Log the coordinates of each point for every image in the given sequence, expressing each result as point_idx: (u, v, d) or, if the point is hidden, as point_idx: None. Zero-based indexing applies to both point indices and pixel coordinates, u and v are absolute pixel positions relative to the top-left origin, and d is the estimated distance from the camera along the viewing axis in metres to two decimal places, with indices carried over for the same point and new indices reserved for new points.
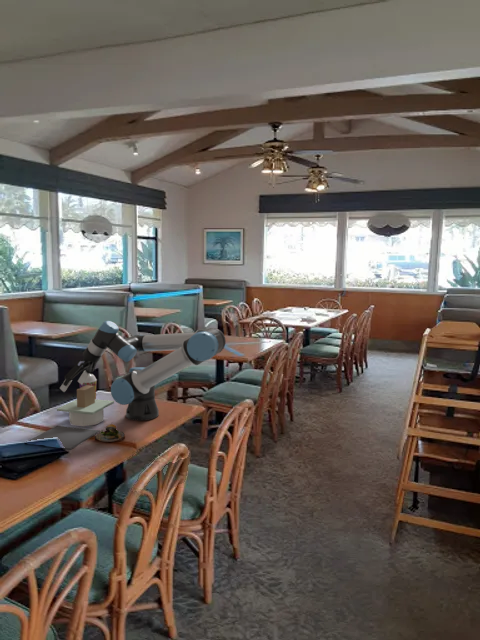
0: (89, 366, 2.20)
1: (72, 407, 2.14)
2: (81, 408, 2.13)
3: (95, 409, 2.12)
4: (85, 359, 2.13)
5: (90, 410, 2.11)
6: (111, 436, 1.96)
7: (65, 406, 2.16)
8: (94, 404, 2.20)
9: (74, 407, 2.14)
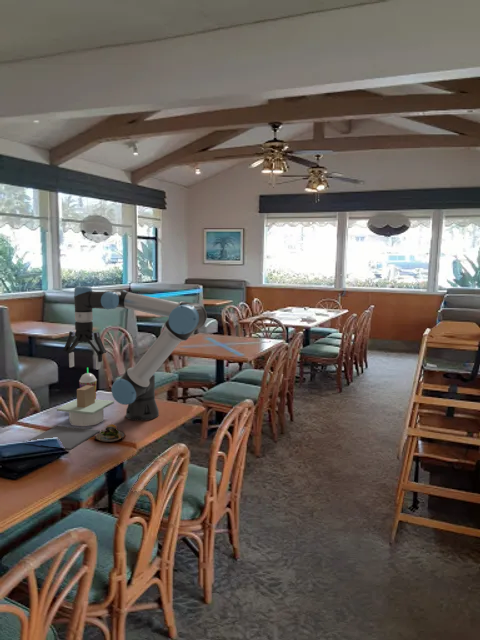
0: (80, 340, 2.17)
1: (72, 407, 2.14)
2: (81, 408, 2.13)
3: (95, 409, 2.12)
4: (91, 330, 2.14)
5: (90, 410, 2.11)
6: (111, 436, 1.96)
7: (65, 406, 2.16)
8: (94, 404, 2.20)
9: (74, 407, 2.14)
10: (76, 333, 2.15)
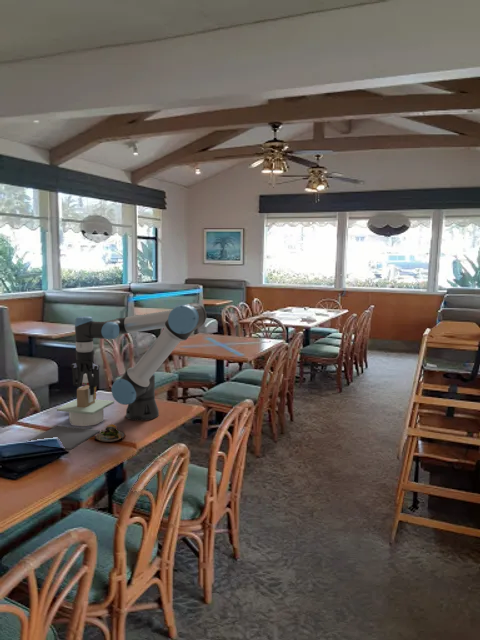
0: (84, 370, 2.18)
1: (72, 407, 2.14)
2: (81, 408, 2.13)
3: (95, 409, 2.12)
4: (92, 360, 2.16)
5: (90, 410, 2.11)
6: (111, 436, 1.96)
7: (65, 406, 2.16)
8: (94, 404, 2.20)
9: (74, 407, 2.14)
10: (77, 362, 2.17)
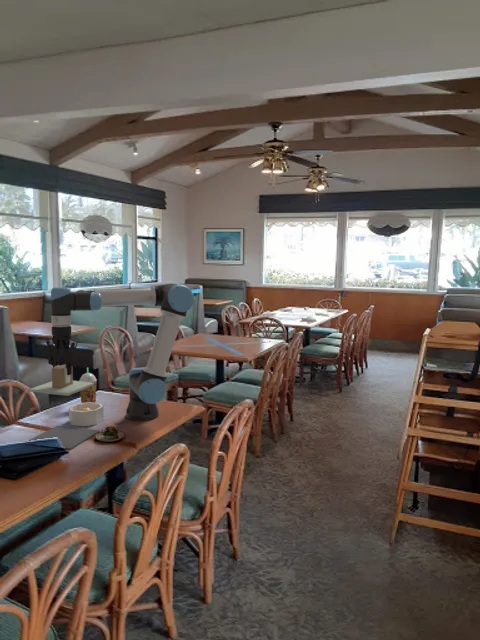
0: (60, 348, 1.97)
1: (46, 388, 1.93)
2: (56, 389, 1.92)
3: (71, 390, 1.91)
4: (69, 336, 1.94)
5: (65, 391, 1.89)
6: (111, 436, 1.96)
7: (39, 387, 1.95)
8: (71, 385, 1.98)
9: (48, 388, 1.93)
10: (53, 339, 1.95)
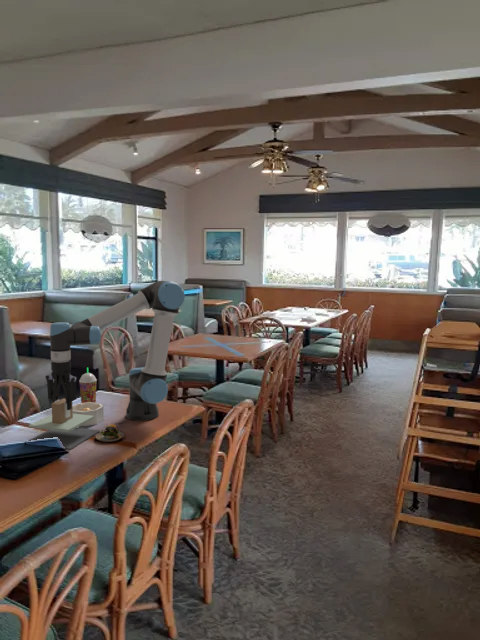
0: (60, 382, 1.97)
1: (47, 424, 1.93)
2: (56, 424, 1.92)
3: (72, 426, 1.91)
4: (69, 370, 1.94)
5: (66, 427, 1.89)
6: (111, 436, 1.96)
7: (39, 422, 1.95)
8: (72, 420, 1.98)
9: (48, 424, 1.93)
10: (52, 374, 1.95)
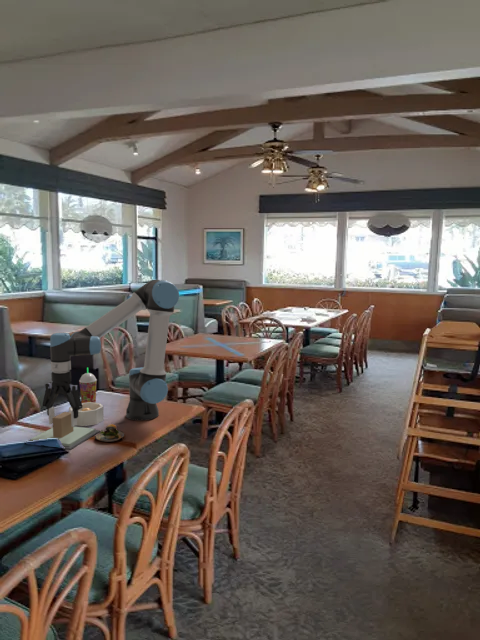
0: None
1: None
2: None
3: (73, 440, 1.92)
4: (69, 381, 1.95)
5: (67, 441, 1.90)
6: (111, 436, 1.96)
7: (40, 436, 1.95)
8: (72, 433, 1.99)
9: None
10: (53, 384, 1.96)
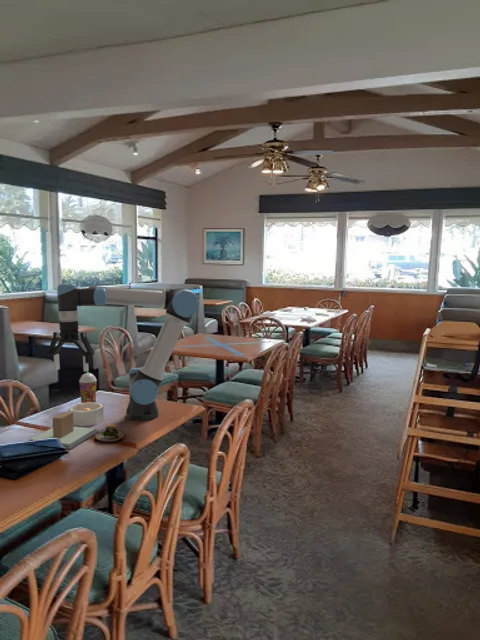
0: None
1: None
2: None
3: (73, 440, 1.92)
4: (77, 330, 2.02)
5: (67, 441, 1.90)
6: (111, 436, 1.96)
7: (40, 436, 1.95)
8: (72, 433, 1.99)
9: None
10: (61, 333, 2.02)
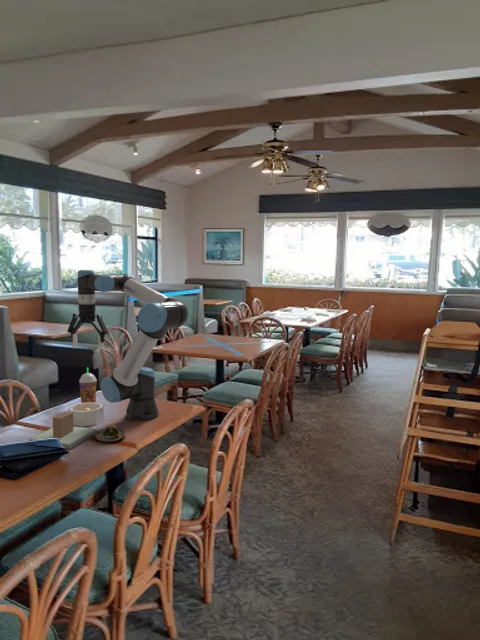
0: None
1: None
2: None
3: (73, 440, 1.92)
4: (94, 312, 2.23)
5: (67, 441, 1.90)
6: (111, 436, 1.96)
7: (40, 436, 1.95)
8: (72, 433, 1.99)
9: None
10: (79, 315, 2.24)
